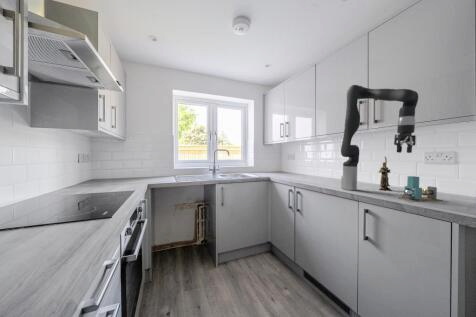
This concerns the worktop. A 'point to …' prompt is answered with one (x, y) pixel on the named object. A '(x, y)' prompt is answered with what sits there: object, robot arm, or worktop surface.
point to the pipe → (430, 193)
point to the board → (421, 199)
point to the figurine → (384, 177)
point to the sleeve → (414, 187)
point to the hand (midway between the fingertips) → (404, 152)
